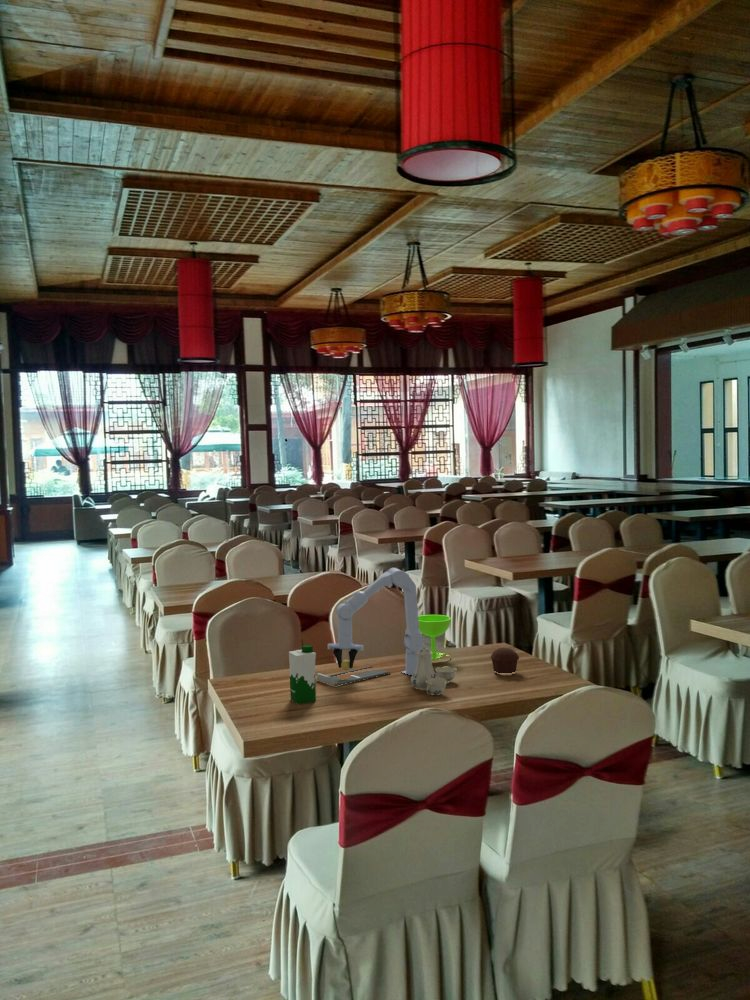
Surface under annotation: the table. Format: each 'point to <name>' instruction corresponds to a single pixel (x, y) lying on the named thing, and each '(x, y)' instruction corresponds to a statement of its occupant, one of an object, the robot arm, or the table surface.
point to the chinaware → (430, 674)
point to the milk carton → (302, 675)
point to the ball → (345, 664)
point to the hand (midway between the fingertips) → (345, 667)
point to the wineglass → (434, 629)
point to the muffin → (504, 660)
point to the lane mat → (356, 677)
